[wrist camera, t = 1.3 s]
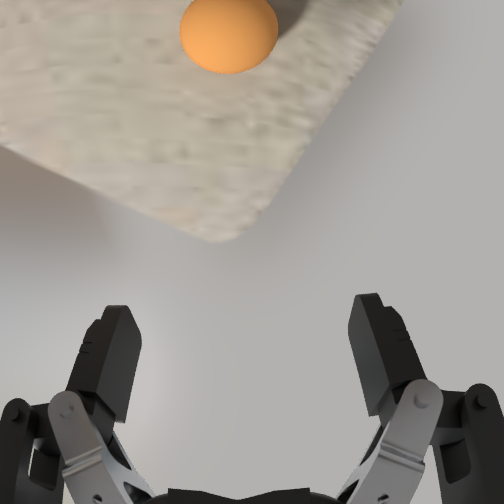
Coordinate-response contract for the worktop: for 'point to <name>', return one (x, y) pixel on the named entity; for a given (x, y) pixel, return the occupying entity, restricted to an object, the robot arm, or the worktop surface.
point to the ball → (228, 34)
